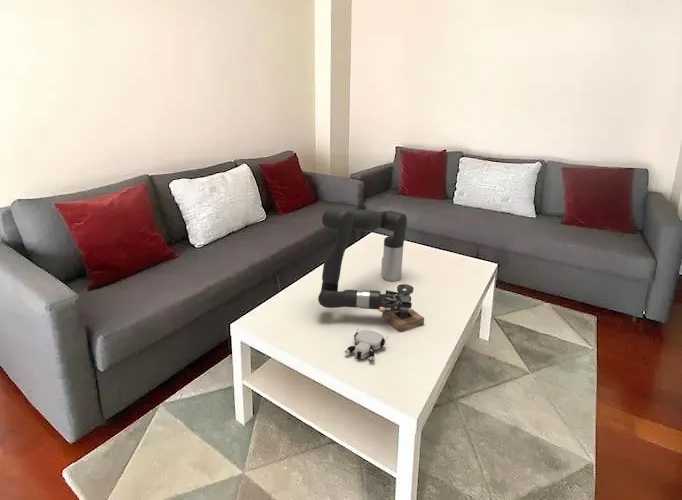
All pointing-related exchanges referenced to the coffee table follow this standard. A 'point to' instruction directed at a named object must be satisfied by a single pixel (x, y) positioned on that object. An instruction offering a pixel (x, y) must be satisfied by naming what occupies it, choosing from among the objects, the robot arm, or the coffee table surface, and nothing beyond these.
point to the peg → (404, 299)
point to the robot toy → (366, 343)
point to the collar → (403, 320)
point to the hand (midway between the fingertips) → (411, 302)
